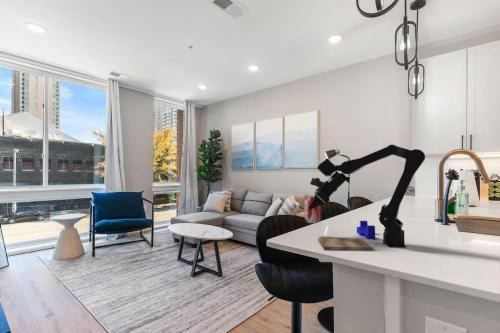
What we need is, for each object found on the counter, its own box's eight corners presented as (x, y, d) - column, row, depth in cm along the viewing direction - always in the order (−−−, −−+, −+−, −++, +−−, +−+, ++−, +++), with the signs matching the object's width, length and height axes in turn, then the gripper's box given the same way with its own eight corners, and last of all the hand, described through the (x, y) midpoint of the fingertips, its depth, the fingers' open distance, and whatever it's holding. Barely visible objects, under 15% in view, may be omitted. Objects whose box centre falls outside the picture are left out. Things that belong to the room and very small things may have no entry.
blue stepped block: (356, 232, 119) (356, 220, 119) (366, 233, 118) (366, 220, 118) (364, 239, 107) (364, 225, 107) (375, 240, 106) (375, 226, 107)
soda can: (302, 221, 116) (301, 195, 117) (315, 220, 118) (314, 195, 119) (310, 223, 109) (309, 196, 110) (323, 222, 111) (323, 196, 112)
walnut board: (361, 241, 104) (361, 238, 104) (373, 250, 92) (372, 247, 92) (318, 240, 106) (318, 238, 106) (324, 249, 94) (323, 246, 94)
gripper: (319, 171, 122) (298, 193, 125) (320, 171, 104) (294, 197, 107) (337, 187, 120) (314, 209, 123) (340, 189, 102) (314, 215, 105)
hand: (309, 207), depth 114 cm, fingers closed on soda can, 7 cm apart
